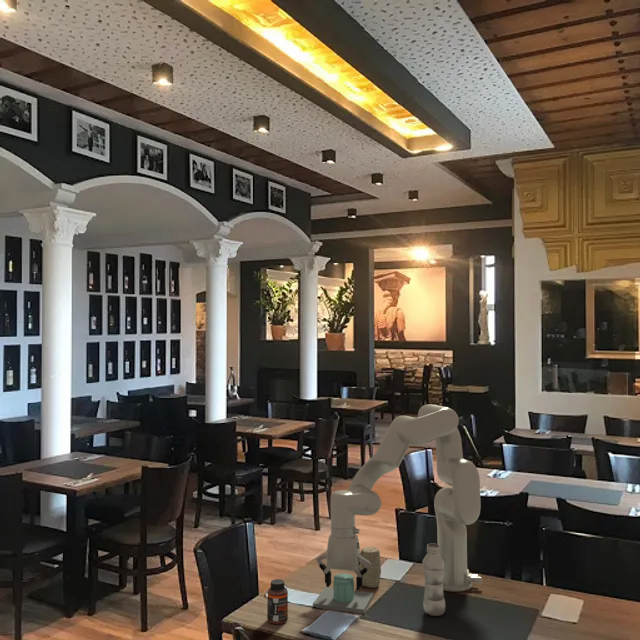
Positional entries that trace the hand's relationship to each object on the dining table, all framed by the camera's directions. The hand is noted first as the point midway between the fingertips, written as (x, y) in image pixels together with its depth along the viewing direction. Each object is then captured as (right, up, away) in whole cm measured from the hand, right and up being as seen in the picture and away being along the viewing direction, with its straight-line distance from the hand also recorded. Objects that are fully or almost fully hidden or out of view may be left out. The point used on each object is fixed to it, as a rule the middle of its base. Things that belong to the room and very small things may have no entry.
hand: (343, 587), depth 198 cm
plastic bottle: (+26, -4, -9) cm, 28 cm away
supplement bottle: (-20, -5, -13) cm, 24 cm away
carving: (+9, -5, +13) cm, 16 cm away
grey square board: (0, -5, 0) cm, 4 cm away
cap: (0, -3, 0) cm, 3 cm away
